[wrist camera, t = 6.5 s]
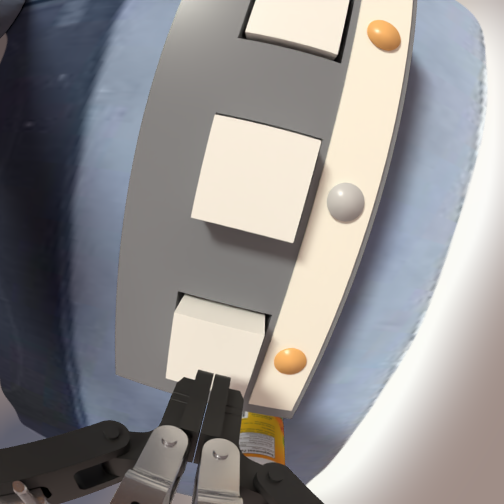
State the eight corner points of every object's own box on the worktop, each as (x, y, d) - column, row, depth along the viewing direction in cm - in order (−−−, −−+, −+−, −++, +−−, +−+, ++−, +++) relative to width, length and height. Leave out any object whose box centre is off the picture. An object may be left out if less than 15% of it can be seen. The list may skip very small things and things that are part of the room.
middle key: (288, 228, 15) (293, 243, 13) (203, 207, 15) (190, 217, 12) (311, 144, 14) (321, 140, 11) (224, 123, 14) (214, 114, 11)
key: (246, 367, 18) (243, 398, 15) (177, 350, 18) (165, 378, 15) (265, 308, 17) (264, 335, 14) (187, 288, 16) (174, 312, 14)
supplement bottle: (272, 438, 25) (271, 522, 16) (217, 428, 25) (203, 513, 15) (291, 404, 23) (298, 499, 14) (230, 392, 23) (216, 488, 14)
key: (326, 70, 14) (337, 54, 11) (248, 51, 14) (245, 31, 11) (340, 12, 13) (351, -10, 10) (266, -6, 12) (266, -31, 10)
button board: (287, 373, 22) (291, 422, 17) (140, 336, 22) (113, 377, 17) (389, 18, 14) (420, -14, 9) (223, -24, 14) (211, -66, 9)
